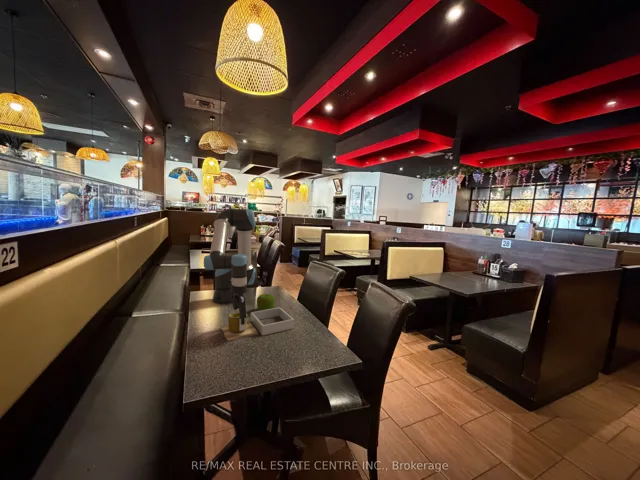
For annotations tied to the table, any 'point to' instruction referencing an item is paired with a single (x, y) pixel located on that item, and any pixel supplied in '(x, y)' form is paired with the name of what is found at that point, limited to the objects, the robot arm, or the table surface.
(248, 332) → the board
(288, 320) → the tub
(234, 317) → the mug
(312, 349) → the table surface
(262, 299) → the apple
